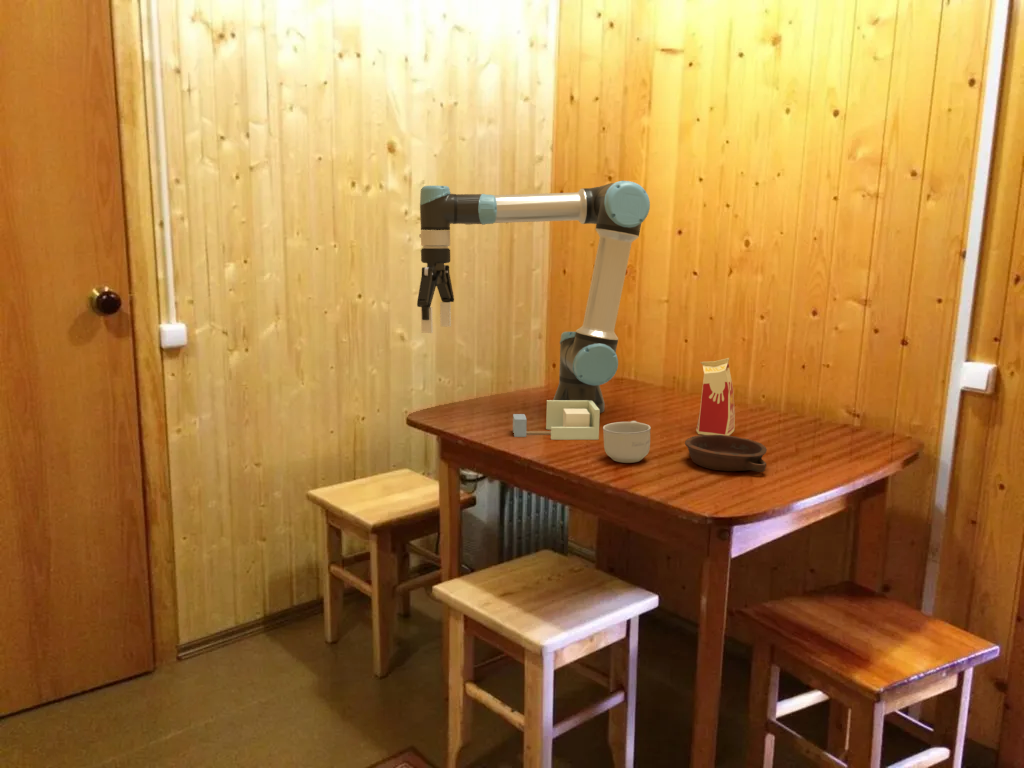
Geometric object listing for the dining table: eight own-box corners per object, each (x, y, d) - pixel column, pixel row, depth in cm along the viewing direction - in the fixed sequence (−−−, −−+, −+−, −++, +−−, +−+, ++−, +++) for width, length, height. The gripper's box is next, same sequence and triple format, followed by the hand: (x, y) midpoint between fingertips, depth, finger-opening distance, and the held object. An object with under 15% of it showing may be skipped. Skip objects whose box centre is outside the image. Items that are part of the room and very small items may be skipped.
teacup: (637, 469, 179) (639, 434, 177) (593, 461, 184) (594, 427, 183) (661, 455, 190) (663, 421, 189) (619, 447, 196) (620, 415, 194)
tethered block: (585, 431, 211) (586, 408, 210) (588, 436, 205) (589, 413, 204) (512, 430, 210) (513, 408, 209) (514, 436, 204) (514, 413, 203)
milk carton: (734, 430, 215) (739, 356, 211) (728, 438, 207) (733, 361, 203) (700, 426, 219) (704, 353, 215) (692, 433, 211) (697, 358, 207)
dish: (734, 484, 170) (736, 461, 169) (661, 458, 188) (662, 437, 187) (788, 471, 180) (790, 450, 179) (714, 448, 198) (715, 428, 197)
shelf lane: (591, 428, 214) (592, 400, 213) (598, 439, 203) (599, 410, 201) (546, 428, 213) (546, 400, 212) (551, 439, 202) (552, 409, 201)
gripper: (439, 246, 221) (439, 323, 225) (402, 248, 197) (404, 334, 201) (465, 246, 219) (465, 324, 223) (431, 248, 195) (432, 336, 199)
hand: (436, 329), depth 212 cm, fingers open, 13 cm apart
